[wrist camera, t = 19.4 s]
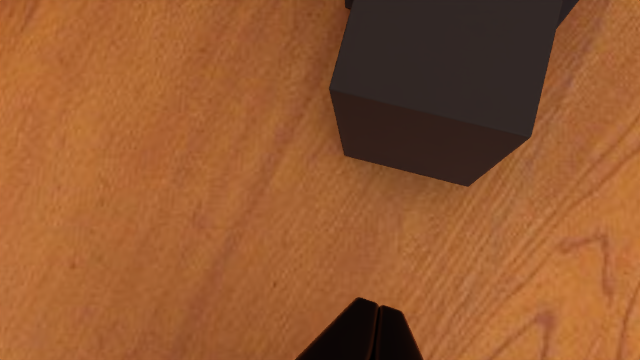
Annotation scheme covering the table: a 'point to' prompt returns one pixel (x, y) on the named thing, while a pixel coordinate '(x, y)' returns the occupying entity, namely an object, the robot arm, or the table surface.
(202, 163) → the table surface
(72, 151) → the table surface
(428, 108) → the stepped dark grey block
